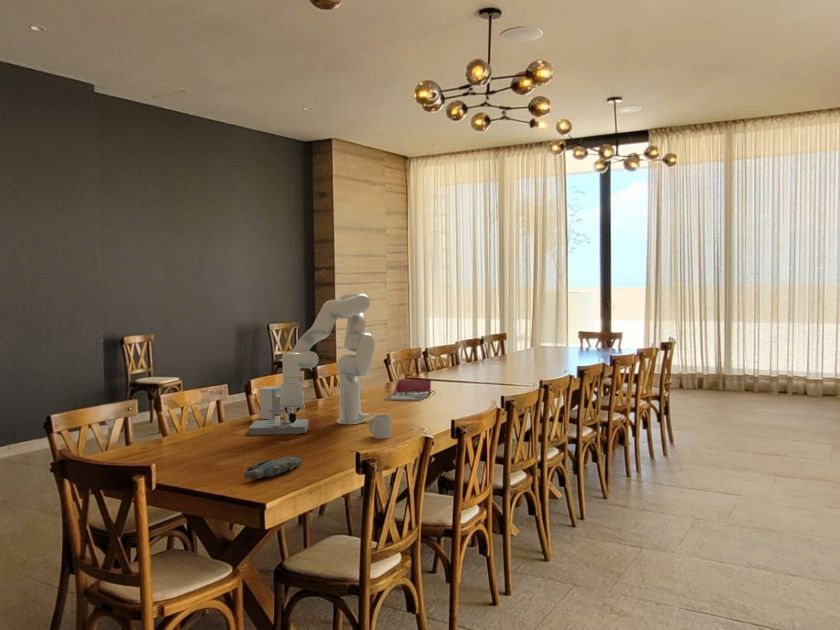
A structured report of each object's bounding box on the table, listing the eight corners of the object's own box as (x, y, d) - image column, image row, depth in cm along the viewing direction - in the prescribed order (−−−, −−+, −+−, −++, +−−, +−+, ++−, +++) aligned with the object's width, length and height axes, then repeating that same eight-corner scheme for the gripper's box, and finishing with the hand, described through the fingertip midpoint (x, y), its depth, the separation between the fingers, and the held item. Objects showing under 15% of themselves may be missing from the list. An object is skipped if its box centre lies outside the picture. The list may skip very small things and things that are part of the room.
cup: (385, 439, 289) (385, 418, 289) (364, 437, 294) (364, 416, 293) (393, 436, 296) (393, 415, 295) (372, 434, 300) (372, 413, 300)
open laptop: (437, 392, 414) (436, 379, 414) (426, 402, 380) (425, 388, 380) (397, 391, 419) (396, 378, 419) (382, 401, 385) (382, 387, 384)
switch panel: (308, 425, 320) (308, 418, 320) (305, 433, 303) (304, 426, 303) (255, 427, 318) (255, 420, 318) (248, 435, 301) (248, 428, 301)
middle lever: (291, 422, 312) (291, 410, 312) (290, 423, 310) (290, 411, 309) (286, 422, 312) (286, 410, 312) (285, 423, 309) (285, 411, 309)
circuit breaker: (287, 420, 333) (287, 389, 332) (259, 419, 336) (259, 388, 335) (293, 417, 340) (292, 386, 340) (266, 416, 343) (265, 386, 343)
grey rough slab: (307, 452, 249) (274, 453, 256) (259, 467, 227) (225, 468, 234) (308, 466, 248) (276, 466, 256) (261, 483, 226) (227, 483, 234)
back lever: (292, 419, 318) (292, 407, 318) (292, 420, 316) (291, 408, 315) (288, 419, 318) (287, 407, 318) (287, 420, 315) (287, 408, 315)
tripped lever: (280, 424, 306) (280, 412, 306) (279, 426, 303) (279, 414, 303) (275, 425, 306) (275, 413, 305) (274, 426, 303) (274, 414, 303)
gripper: (309, 379, 308) (310, 420, 309) (275, 379, 307) (276, 421, 308) (308, 381, 301) (309, 423, 302) (273, 382, 300) (274, 424, 301)
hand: (292, 422), depth 305 cm, fingers closed
